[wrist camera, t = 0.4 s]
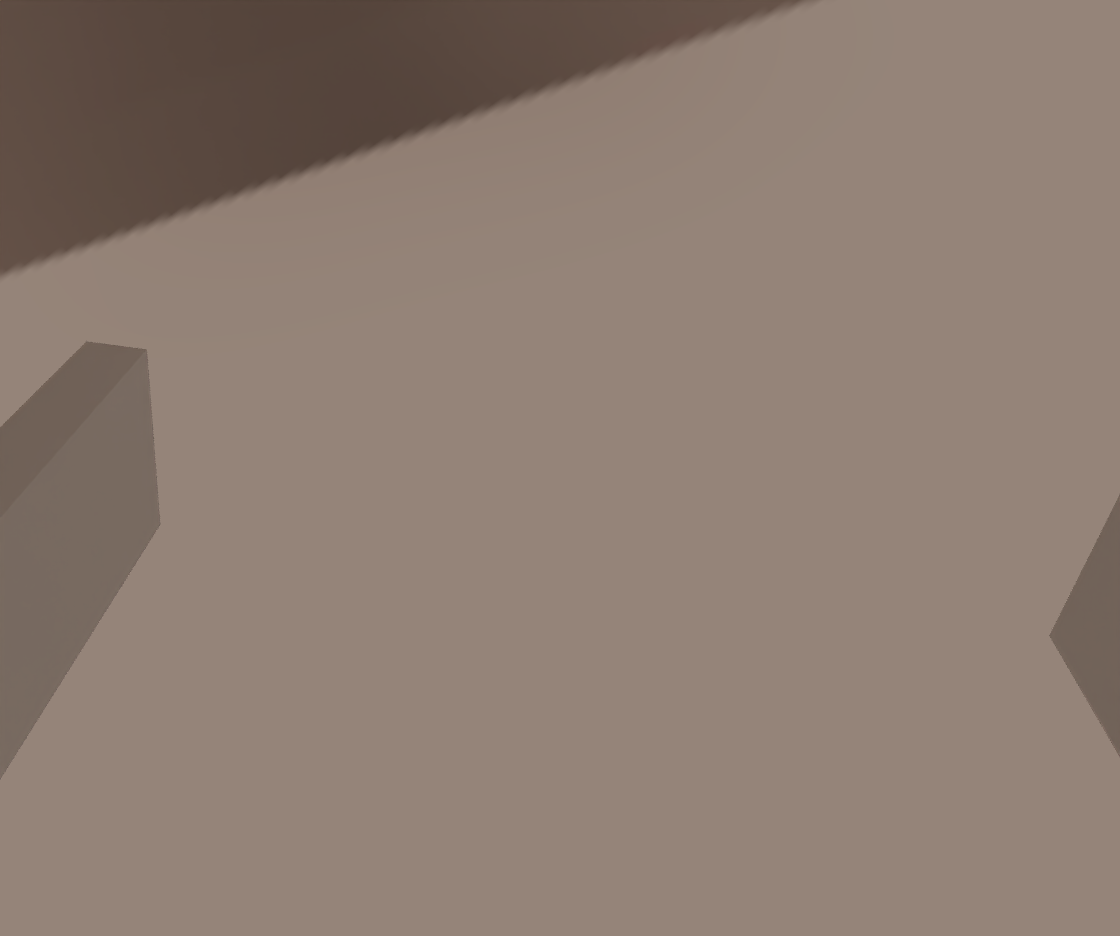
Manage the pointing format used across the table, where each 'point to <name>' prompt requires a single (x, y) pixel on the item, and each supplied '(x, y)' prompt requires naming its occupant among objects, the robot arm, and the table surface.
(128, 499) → the robot arm
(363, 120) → the table surface
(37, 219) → the table surface
